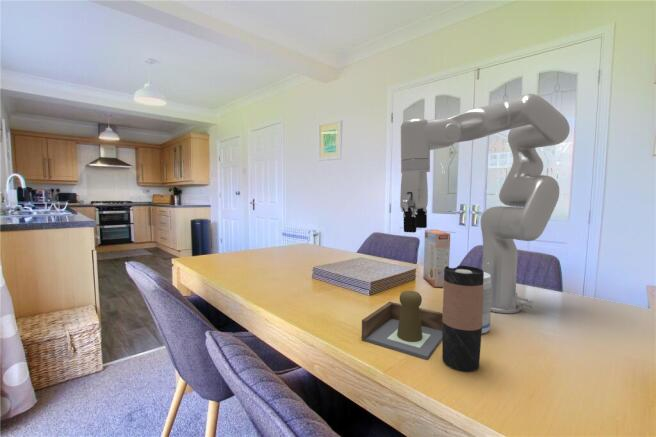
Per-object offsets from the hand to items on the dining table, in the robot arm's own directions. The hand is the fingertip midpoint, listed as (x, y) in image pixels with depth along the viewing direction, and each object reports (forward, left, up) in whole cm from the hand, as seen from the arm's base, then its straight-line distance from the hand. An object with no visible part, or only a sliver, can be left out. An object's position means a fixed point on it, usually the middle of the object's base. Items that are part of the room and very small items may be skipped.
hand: (415, 229), depth 86 cm
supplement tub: (-14, -4, -26) cm, 30 cm away
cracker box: (+6, -42, -26) cm, 50 cm away
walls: (-2, +11, -26) cm, 28 cm away
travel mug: (-16, +16, -26) cm, 34 cm away
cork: (-3, +12, -25) cm, 28 cm away
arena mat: (-2, +11, -26) cm, 28 cm away
